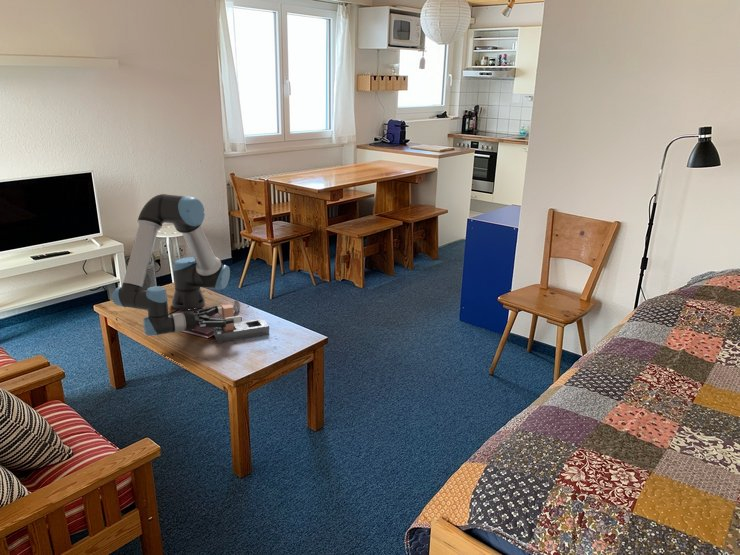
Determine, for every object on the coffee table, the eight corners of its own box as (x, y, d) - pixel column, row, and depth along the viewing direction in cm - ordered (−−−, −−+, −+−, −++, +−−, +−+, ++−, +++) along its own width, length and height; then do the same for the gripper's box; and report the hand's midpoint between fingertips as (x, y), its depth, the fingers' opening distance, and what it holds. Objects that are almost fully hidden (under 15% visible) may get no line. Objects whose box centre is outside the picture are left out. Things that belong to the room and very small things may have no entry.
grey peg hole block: (213, 334, 244) (213, 325, 243) (262, 326, 254) (262, 318, 253) (218, 342, 237) (218, 334, 236) (269, 334, 247) (269, 326, 246)
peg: (222, 335, 244) (221, 305, 239) (232, 333, 246) (230, 304, 241) (225, 339, 240) (223, 308, 236) (234, 337, 242) (233, 307, 238)
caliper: (238, 310, 271) (237, 298, 269) (240, 311, 270) (239, 299, 268) (207, 325, 254) (207, 312, 252) (209, 325, 253) (208, 312, 251)
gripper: (179, 319, 243) (230, 311, 253) (190, 341, 223) (245, 332, 233) (178, 302, 240) (229, 296, 250) (189, 324, 221) (244, 315, 231)
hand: (237, 313), depth 242 cm, fingers open, 11 cm apart
